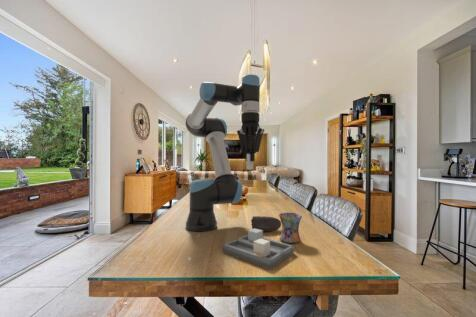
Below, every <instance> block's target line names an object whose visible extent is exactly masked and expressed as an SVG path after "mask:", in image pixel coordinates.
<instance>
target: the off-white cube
mask: <svg viewBox="0 0 476 317" xmlns="http://www.w3.org/2000/svg"><path fill="white" fill-rule="evenodd" d="M253 253H255V254H258V255H261V256H264V257H266V256H268V255H269V254H270V241H268V240H264V239H261V238H260V239H258V240H256V241H253Z"/></svg>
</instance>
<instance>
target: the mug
mask: <svg viewBox="0 0 476 317" xmlns="http://www.w3.org/2000/svg"><path fill="white" fill-rule="evenodd" d="M278 217H279V219H280V221H281V234H280V237H279V239H280V241H281V242H283V243H286V244H296V243H298V242H301V239H302V238H301V237H300V232H299V228H300V223H301V220H302V217H303V216H302V214H300V213H297V212H296V213H295V212H280V213H279V214H278Z"/></svg>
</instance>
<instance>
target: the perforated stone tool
mask: <svg viewBox="0 0 476 317" xmlns="http://www.w3.org/2000/svg"><path fill="white" fill-rule="evenodd" d="M250 221H251V223H250V225H251V229H254V228H255V229H259V230H263V232H273V231H277V230H279V229H280V228H282V223H281V219H280V220H279V219H278V218H276V217H273V216H259V215H255V216H252V218H251V220H250Z"/></svg>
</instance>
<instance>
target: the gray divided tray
mask: <svg viewBox="0 0 476 317" xmlns="http://www.w3.org/2000/svg"><path fill="white" fill-rule="evenodd" d="M263 239H264V240H268V241H270V254H269V255H268V256H266V257H264V256H261V255H258V254H255V253H253V242H251V241H248V234H246V235H244V236H240V237H238V238H236V239H233V240H231V241H228V242H225V243H224V244H222V252H223V253H225V254H227V255H229V256H233V257H235V258H238V259H240V260H243V261H246V262H249V263H251V264H254V265H257V266H259V267H262V268H265V269H268V270H272V269H273V268H274V267H276V266H278V265H279V264H280V263H282V262H283V261H284V260H286V259H287V258H289V257H291V256H292V255H294V254H295V245H292V244H290V243H286V242H283V241H281V242H280V241H278V240H274V239H271V238H266V237H263Z"/></svg>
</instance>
